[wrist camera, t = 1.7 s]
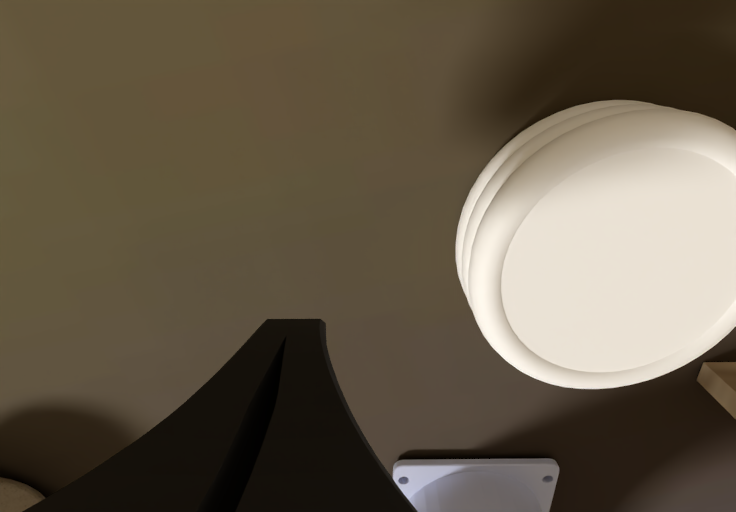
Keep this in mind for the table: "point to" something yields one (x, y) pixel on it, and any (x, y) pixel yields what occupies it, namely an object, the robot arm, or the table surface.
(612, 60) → the table surface
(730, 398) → the coaster rack
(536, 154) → the coaster
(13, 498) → the ceramic mug
